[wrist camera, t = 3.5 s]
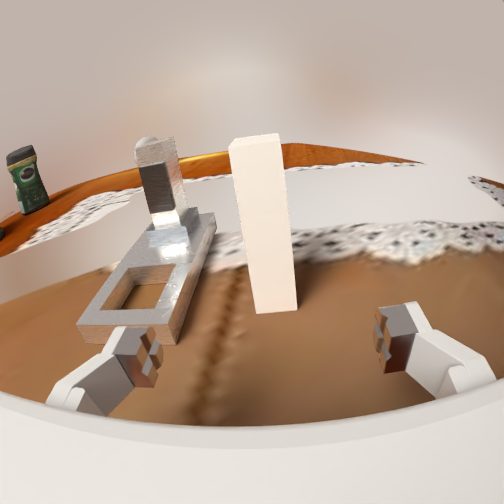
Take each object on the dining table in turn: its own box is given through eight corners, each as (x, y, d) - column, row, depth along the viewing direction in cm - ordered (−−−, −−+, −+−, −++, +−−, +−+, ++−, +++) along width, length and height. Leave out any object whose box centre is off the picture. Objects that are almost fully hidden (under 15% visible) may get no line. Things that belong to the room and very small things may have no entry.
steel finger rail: (175, 345, 21) (120, 176, 15) (86, 343, 22) (23, 202, 16) (216, 227, 38) (198, 130, 33) (157, 235, 39) (134, 144, 34)
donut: (162, 165, 87) (155, 133, 82) (170, 165, 85) (163, 131, 80) (136, 176, 80) (127, 141, 75) (143, 176, 78) (135, 140, 73)
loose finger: (297, 310, 23) (280, 140, 17) (256, 313, 23) (227, 147, 17) (293, 276, 27) (277, 131, 21) (258, 279, 27) (235, 137, 21)
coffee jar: (46, 201, 79) (30, 144, 70) (52, 203, 74) (36, 141, 66) (20, 215, 73) (2, 156, 64) (24, 217, 68) (5, 153, 59)
